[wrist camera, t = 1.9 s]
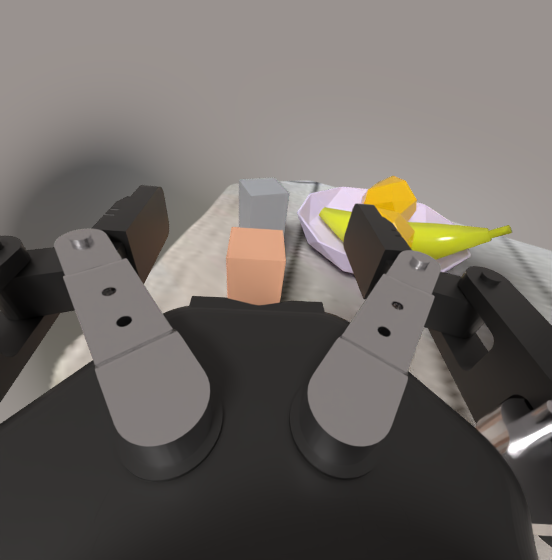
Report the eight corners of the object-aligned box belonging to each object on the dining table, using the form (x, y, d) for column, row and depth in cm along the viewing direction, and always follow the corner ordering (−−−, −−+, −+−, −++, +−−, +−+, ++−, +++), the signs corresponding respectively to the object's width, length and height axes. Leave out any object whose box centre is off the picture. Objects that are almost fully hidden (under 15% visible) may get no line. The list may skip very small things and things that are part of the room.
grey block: (268, 250, 45) (274, 177, 37) (279, 268, 42) (289, 192, 34) (238, 254, 43) (239, 179, 35) (248, 274, 40) (250, 196, 32)
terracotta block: (272, 312, 35) (282, 230, 27) (273, 345, 31) (285, 261, 23) (232, 310, 34) (231, 227, 26) (229, 343, 31) (226, 257, 23)
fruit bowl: (264, 233, 49) (268, 169, 41) (364, 205, 62) (381, 152, 54) (392, 346, 32) (438, 273, 25) (491, 275, 46) (540, 213, 38)
